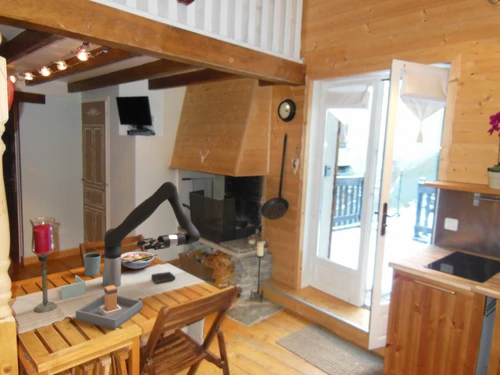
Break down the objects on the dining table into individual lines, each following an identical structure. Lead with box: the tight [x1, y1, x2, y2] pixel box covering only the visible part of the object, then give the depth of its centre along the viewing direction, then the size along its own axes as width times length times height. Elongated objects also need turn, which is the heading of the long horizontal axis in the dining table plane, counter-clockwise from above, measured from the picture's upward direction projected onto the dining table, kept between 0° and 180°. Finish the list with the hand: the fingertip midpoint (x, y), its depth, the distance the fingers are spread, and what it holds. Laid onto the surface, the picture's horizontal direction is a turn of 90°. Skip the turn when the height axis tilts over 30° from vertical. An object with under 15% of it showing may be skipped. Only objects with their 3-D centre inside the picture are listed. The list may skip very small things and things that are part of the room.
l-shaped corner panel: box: [60, 274, 86, 300], centre depth 202 cm, size 12×12×8 cm
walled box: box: [75, 293, 144, 330], centre depth 181 cm, size 22×22×4 cm
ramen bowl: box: [121, 251, 158, 270], centre depth 245 cm, size 25×23×8 cm
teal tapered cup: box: [83, 252, 102, 277], centre depth 230 cm, size 10×10×12 cm
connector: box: [103, 285, 118, 312], centre depth 180 cm, size 5×5×13 cm
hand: (140, 245), depth 196 cm, fingers open, 8 cm apart
